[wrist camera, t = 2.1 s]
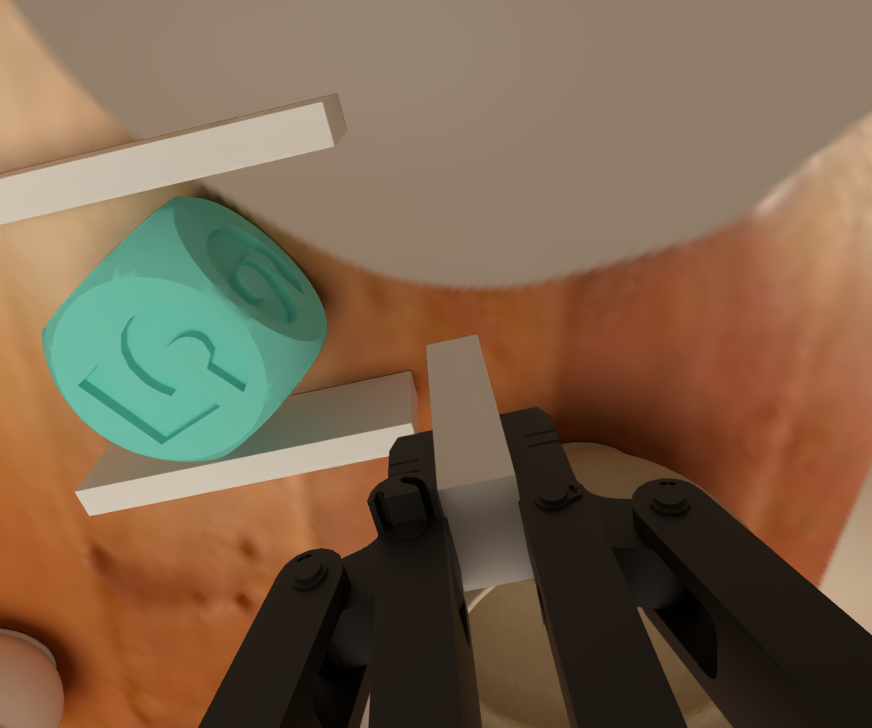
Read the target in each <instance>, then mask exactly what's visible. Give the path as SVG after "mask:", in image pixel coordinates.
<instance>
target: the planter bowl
mask: <svg viewBox="0 0 872 728" xmlns="http://www.w3.org/2000/svg"><path fill="white" fill-rule="evenodd" d="M562 446H563V448H564V451H565V453H566V456H567V458H568V460H569V463H570V465H571V468H572V470H573V472H574V475H575V477H576V479H577V481H578V482H579V483H581V484H582V485H583V486H584V488H585V489H586V490H587V491H589V492H591V493H593V494H595V495H599V496H602V497H608V498H619V499H632V495H633V494H634V492H635V491H636V489H637V488H638V487H639V486H641V485H643V484H644V483H646V482H648V481H652V480H656V479H660V478H670V479H679V480H683V481H686V482H690V483H692V484H693V485H695V486H697V487H698V488H700V489H701V490H703V491H704V492H705V493H706V494H707V495H708V496H710V497H711V498H712V499H713V500H714V501H715V502H717V503H718V504H719V505H720V506H721V507H722V508H724V509H725V510H726V511H727V512H728V513H729V514H731V515H732V516H733V517H734V518H735V519H736V520H738V521H739V522H740V523H741V524H742V525H743V526H745V527H746V528H747V529H748V530H749V528H748V527H747V526H746V525H745V524H744V523H743V522H742V521H741V520H740V519H739V518H738V517H737V516H736V515H735V514H734V513H733V512H732V511H731V510H729V509H728V508H727V507H726V506H725V505H724V504H723V503H722V502H720V501H719V500H718V499H717V498H715V497H714V496H713V495H712V494H710V493H709V492H707V491H706V490H705V489H703V488H702V487H700V486H699V485H697V484H696V483H694V482H692V481H691V480H689V479H687V478H685V477H684V476H682V475H680V474H678V473H676V472H674V471H672V470H670V469H668V468H666V467H664V466H661V465H659V464H656V463H653V462H651V461H648V460H645V459H642V458H638V457H635V456H631V455H627V454H625V453H623V452H621V451H619V450H617V449H615V448H612V447H609V446H606V445H602V444H597V443H588V442H573V443H564V444H562ZM749 531H750V530H749ZM750 532H751V531H750ZM463 593H464V598H465V602H466V606H467V609H468V613H469V621H470V630H471V638H472V646H473V654H474V663H475V671H476V679H477V687H478V696H479V704H480V712H481V720H482V728H570V724H569V720H568V716H567V712H566V708H565V704H564V700H563V696H562V692H561V688H560V684H559V680H558V676H557V672H556V667H555V663H554V659H553V655H552V651H551V647H550V643H549V639H548V635H547V631H546V627H545V625H543V620H542V615H541V609H540V604H539V599H538V594H537V589H536V583H535V579H534V578H533V579H527V580H522V581H517V582H512V583H507V584H502V585H496V586H491V587H486V588H481V589H476V590H471V591H464V588H463ZM637 609H638V611H639V614H640V616H641V619H642V621H643V623H644V626H645V628H646V630H647V633H648V635H649V637H650V640H651V642H652V644H653V647H654V649H655V652H656V654H657V656H658V659H659V661H660V663H661V666H662V668H663V670H664V673H665V675H666V677H667V680H668V682H669V684H670V687H671V689H672V692H673V694H674V696H675V699H676V701H677V703H678V706H679V708H680V710H681V713H682V715H683V717H684V720H685V722H686V724H687V727H688V728H733V727H732V726H731V724H730V723H729V722H728V721H727V719H726V718H725V717H724V715H723V714H722V713H721V711H720V710H719V709H718V708H717V706H716V705H715V704H714V702H713V701H712V700H711V699H710V697H709V696H708V695H707V693H706V692H705V691H704V690H703V688H702V687H701V686H700V684H699V683H698V682H697V681H696V679H695V678H694V677H693V675H692V674H691V673H690V672H689V670H688V669H687V668H686V666H685V665H684V664H683V662H682V661H681V660H680V659H679V657H678V656H677V655H676V653H675V652H674V651H673V650H672V648H671V647H670V646H669V644H668V643H667V642H666V641H665V639H664V638H663V637H662V635H661V634H660V633H659V632H658V630H657V629H656V628H655V626H654V625H653V624H652V623H651V621H650V620H649V619H648V617H647V616H646V615H645V613H644V611H643V609H642V607H637Z"/></svg>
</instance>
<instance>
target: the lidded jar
mask: <svg viewBox="0 0 872 728" xmlns="http://www.w3.org/2000/svg"><path fill="white" fill-rule="evenodd" d="M63 712H64V691H63V684H62V681H61V678H60V675H59V673H58V671H57V664H56V660H55V657H54V655H53V654H52V652H51V651H50V650H49V649H48V648H47V647H46V646H45V645H44V644H43V643H41V642H40V641H38V640H37V639H35V638H33V637H31V636H29V635H27V634H24V633H21V632H18V631H14V630H9V629H2V628H0V728H60V726H61V722H62V718H63Z"/></svg>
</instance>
